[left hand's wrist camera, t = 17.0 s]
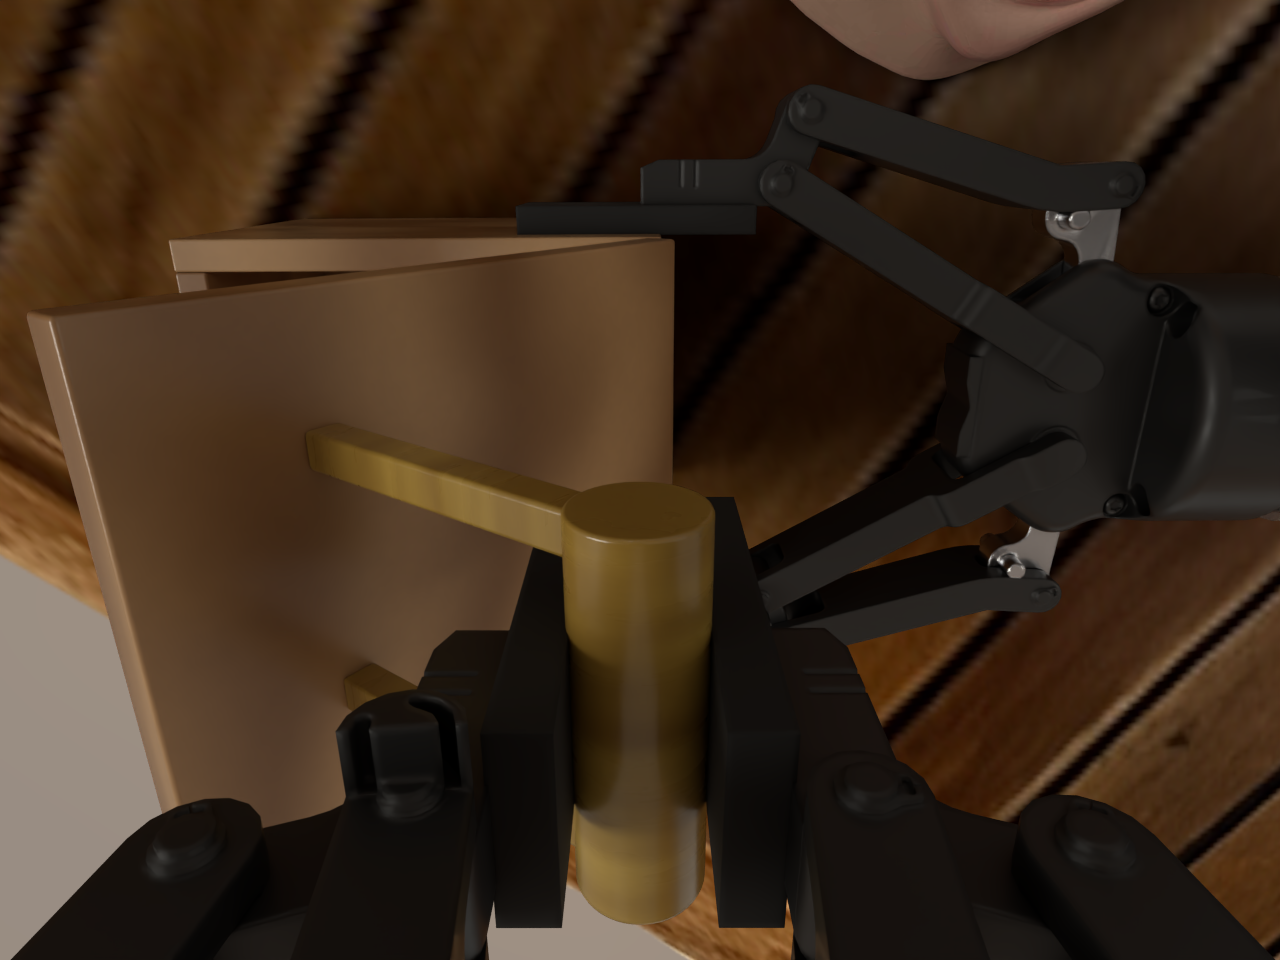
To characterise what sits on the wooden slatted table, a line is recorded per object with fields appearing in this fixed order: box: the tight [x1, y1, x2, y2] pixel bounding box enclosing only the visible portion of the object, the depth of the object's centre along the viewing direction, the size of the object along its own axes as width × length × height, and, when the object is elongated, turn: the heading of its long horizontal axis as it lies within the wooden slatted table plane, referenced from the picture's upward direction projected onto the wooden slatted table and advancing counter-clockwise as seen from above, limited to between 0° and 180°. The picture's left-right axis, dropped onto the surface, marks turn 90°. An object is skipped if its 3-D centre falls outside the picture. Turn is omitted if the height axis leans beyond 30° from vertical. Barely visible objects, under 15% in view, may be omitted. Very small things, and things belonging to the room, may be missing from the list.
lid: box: [27, 238, 715, 925], centre depth 15 cm, size 14×10×8 cm
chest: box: [169, 218, 661, 293], centre depth 28 cm, size 13×10×9 cm
